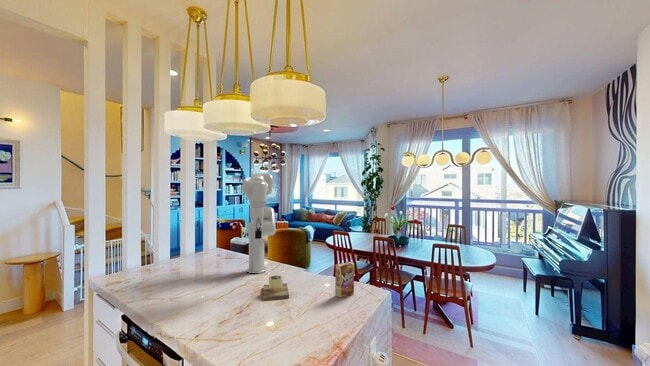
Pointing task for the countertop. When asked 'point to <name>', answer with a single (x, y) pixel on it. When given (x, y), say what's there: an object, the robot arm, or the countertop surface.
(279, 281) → the wooden cup
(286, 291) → the post stand
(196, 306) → the countertop surface
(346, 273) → the candy box
